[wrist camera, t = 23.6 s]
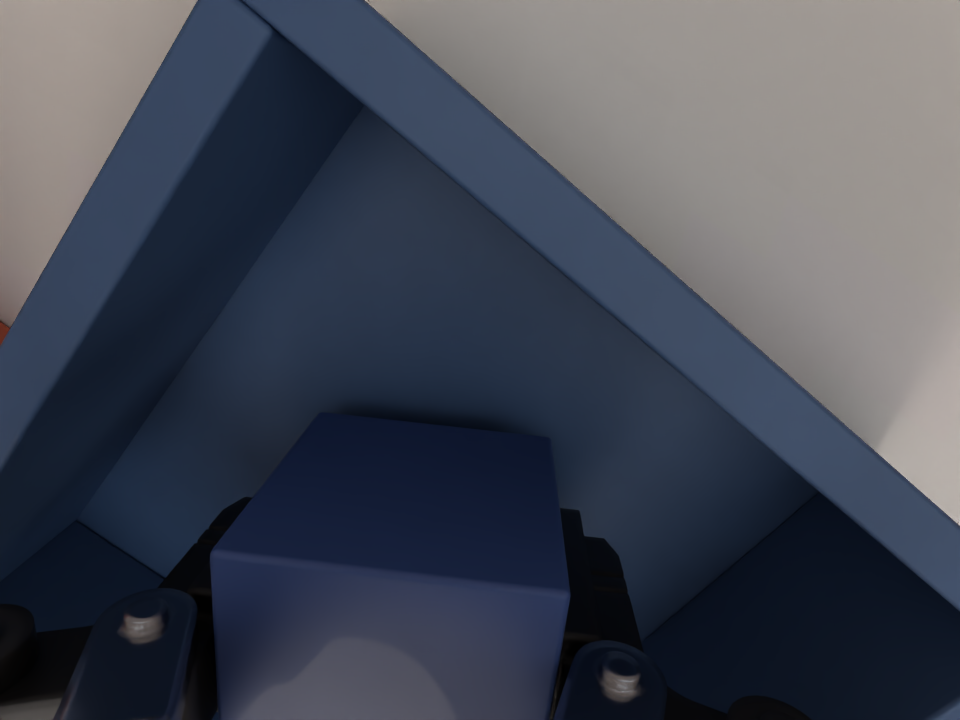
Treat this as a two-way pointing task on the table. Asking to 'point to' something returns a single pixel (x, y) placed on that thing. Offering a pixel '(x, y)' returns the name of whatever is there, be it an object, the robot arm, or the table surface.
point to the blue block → (394, 578)
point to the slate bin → (439, 369)
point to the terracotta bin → (3, 332)
